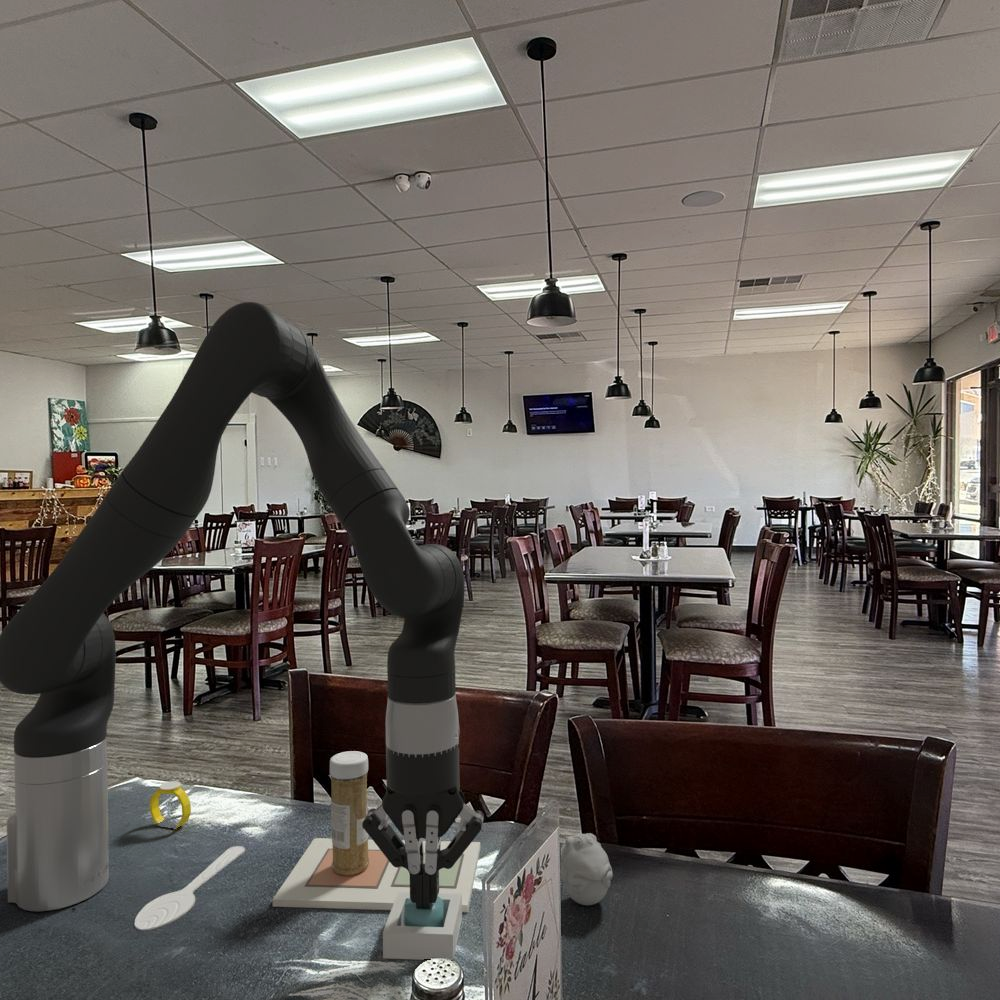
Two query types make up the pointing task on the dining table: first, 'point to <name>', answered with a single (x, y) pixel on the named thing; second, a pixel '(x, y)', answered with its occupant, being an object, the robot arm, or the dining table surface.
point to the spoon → (181, 896)
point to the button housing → (422, 931)
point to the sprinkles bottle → (349, 812)
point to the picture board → (366, 880)
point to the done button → (424, 914)
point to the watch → (177, 791)
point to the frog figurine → (585, 869)
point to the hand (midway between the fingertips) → (425, 904)
